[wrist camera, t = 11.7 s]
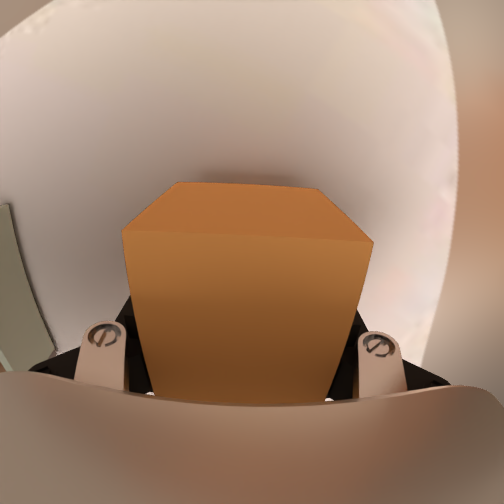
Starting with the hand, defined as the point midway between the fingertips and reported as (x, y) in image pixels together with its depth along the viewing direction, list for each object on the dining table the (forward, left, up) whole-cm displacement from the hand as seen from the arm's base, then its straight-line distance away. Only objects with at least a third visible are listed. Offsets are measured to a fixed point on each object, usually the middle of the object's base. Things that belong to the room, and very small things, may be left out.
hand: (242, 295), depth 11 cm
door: (-16, -4, -4) cm, 17 cm away
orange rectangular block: (0, 0, -1) cm, 1 cm away
